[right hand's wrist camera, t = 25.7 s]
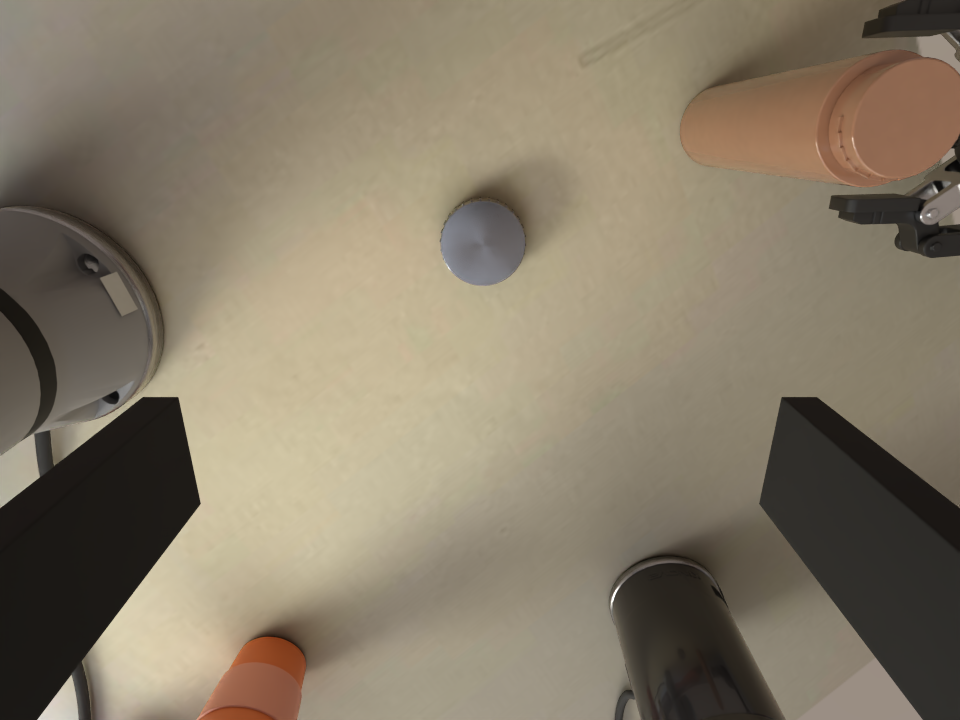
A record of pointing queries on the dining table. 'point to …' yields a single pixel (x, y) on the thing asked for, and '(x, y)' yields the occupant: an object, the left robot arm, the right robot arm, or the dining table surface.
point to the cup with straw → (260, 683)
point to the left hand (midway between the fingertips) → (854, 120)
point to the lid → (482, 241)
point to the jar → (831, 120)
